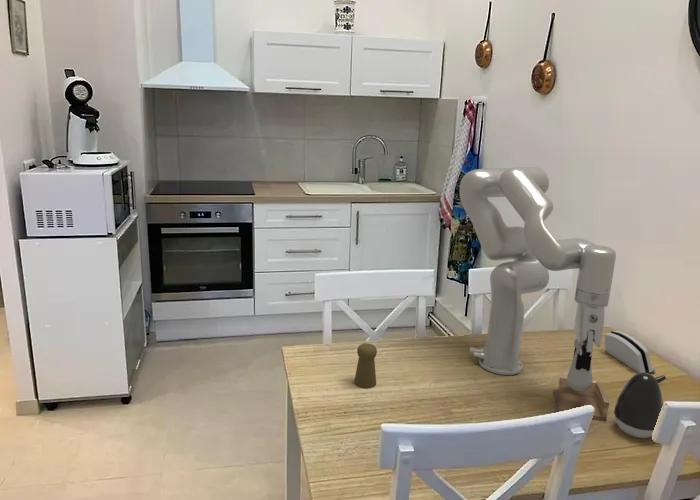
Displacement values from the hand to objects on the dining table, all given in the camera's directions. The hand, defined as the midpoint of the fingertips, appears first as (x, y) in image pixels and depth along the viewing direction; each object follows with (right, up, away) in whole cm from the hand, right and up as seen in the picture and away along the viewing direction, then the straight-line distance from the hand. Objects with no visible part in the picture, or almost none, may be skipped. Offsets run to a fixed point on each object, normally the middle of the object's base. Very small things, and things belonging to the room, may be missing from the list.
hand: (580, 365), depth 135 cm
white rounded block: (+27, -6, +31) cm, 42 cm away
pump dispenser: (+10, -15, -6) cm, 19 cm away
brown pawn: (-53, -7, +11) cm, 55 cm away
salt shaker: (0, -6, +1) cm, 6 cm away
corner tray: (+1, -11, +4) cm, 12 cm away
